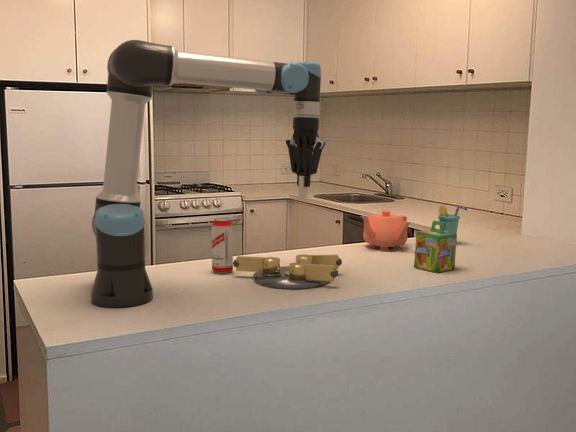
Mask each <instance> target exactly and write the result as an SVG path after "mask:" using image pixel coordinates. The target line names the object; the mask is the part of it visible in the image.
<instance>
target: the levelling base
mask: <svg viewBox="0 0 576 432" xmlns="http://www.w3.org/2000/svg"><path fill="white" fill-rule="evenodd" d="M253 282H254V283H256V284H257V285H259V286H262V287H267V288H271V289H276V290H290V291H292V290H297V291H298V290H311V289H315V288H320V287H323V286H326V285H328V284H330V282H331V281H322V280H309V279H307V280H304V281H293V280H290V279H289V266H288V265H286V266H285V265H284V266H280V273H279V274H274V275H268V274H264V273H262V272H253Z"/></svg>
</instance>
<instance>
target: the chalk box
mask: <svg viewBox="0 0 576 432" xmlns="http://www.w3.org/2000/svg"><path fill="white" fill-rule="evenodd" d="M437 225H439V228H438V229H437V228H436V226H437ZM440 226H441V228H440ZM444 227H445V222H440V221H439V220H432V224H431V227H430V229H426V230H418V231H416V233H415V245H414V246H415V248H414V259H413V260H414V263H413V268H415V269H419V270H423V271H428V272H431V273H434V274H439V273H443V272H448V271H452V270H455V267H456V266H455V265H456V254H457V252H456V251H457V236H458V233H457V234H456V233H453V232H448V231H444Z"/></svg>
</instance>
